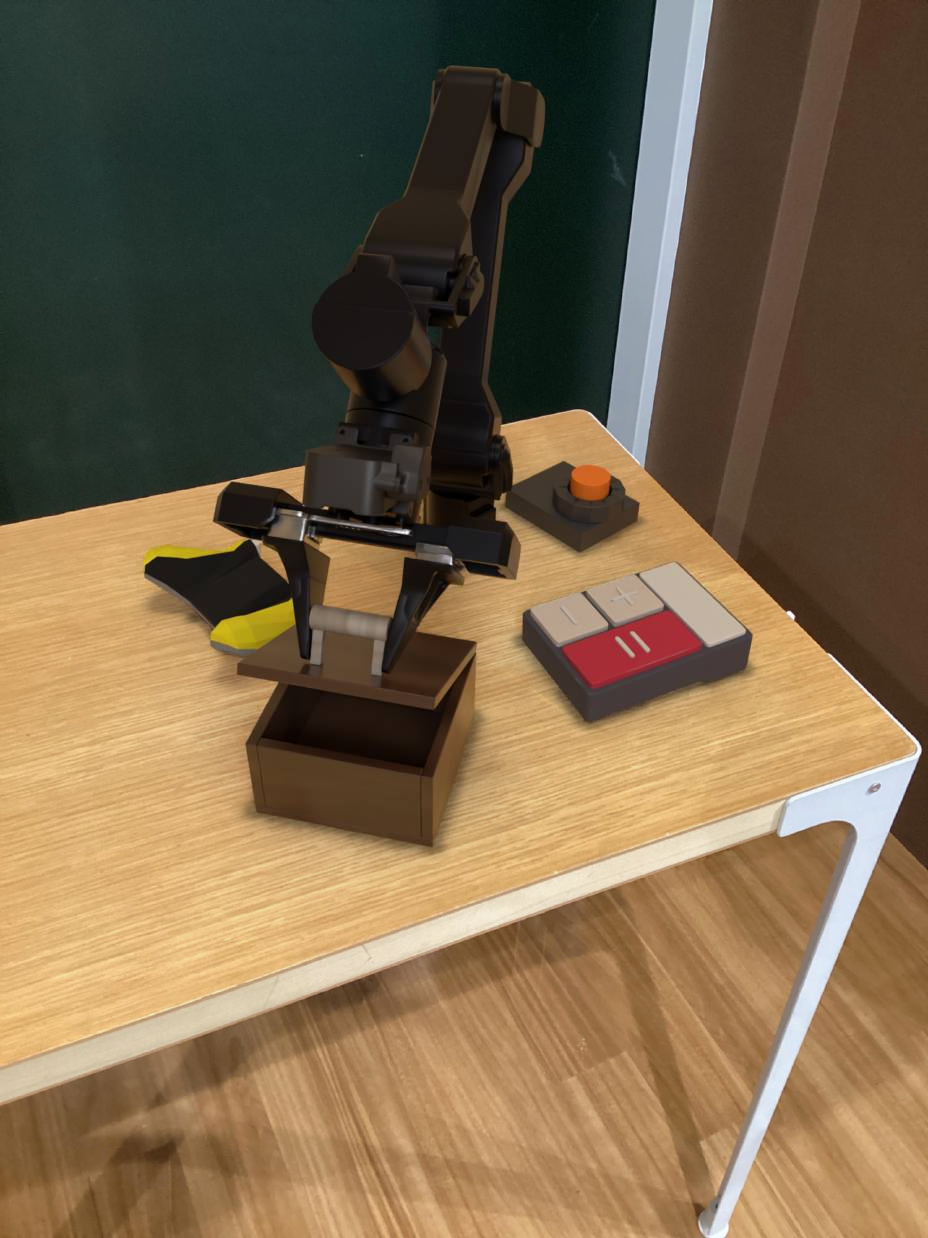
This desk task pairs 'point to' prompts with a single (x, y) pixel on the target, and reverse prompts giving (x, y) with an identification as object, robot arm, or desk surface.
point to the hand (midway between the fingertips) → (344, 666)
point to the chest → (360, 759)
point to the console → (571, 508)
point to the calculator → (635, 639)
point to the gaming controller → (226, 592)
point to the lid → (361, 659)
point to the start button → (590, 482)
